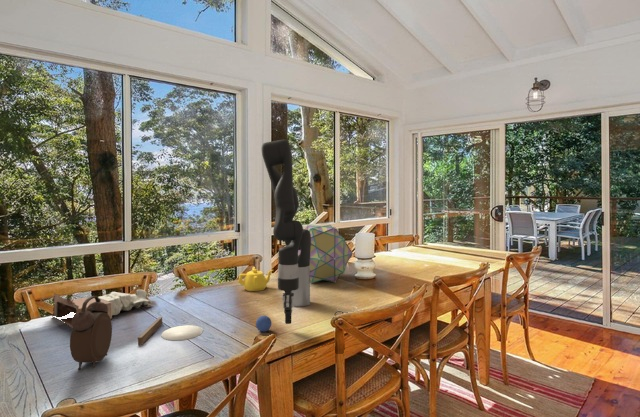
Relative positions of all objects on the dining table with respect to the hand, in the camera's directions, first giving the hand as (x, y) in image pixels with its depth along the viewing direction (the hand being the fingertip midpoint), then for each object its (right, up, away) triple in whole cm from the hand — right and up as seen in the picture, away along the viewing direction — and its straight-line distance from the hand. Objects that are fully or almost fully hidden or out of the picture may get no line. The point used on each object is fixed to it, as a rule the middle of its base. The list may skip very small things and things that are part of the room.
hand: (288, 323), depth 144 cm
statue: (-75, -3, +16) cm, 77 cm away
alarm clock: (-57, -5, -26) cm, 62 cm away
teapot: (-21, +1, +58) cm, 62 cm away
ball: (-9, 0, 0) cm, 9 cm away
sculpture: (+12, +2, +75) cm, 76 cm away
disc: (-38, -3, -2) cm, 38 cm away
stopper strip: (-49, -3, -2) cm, 49 cm away
